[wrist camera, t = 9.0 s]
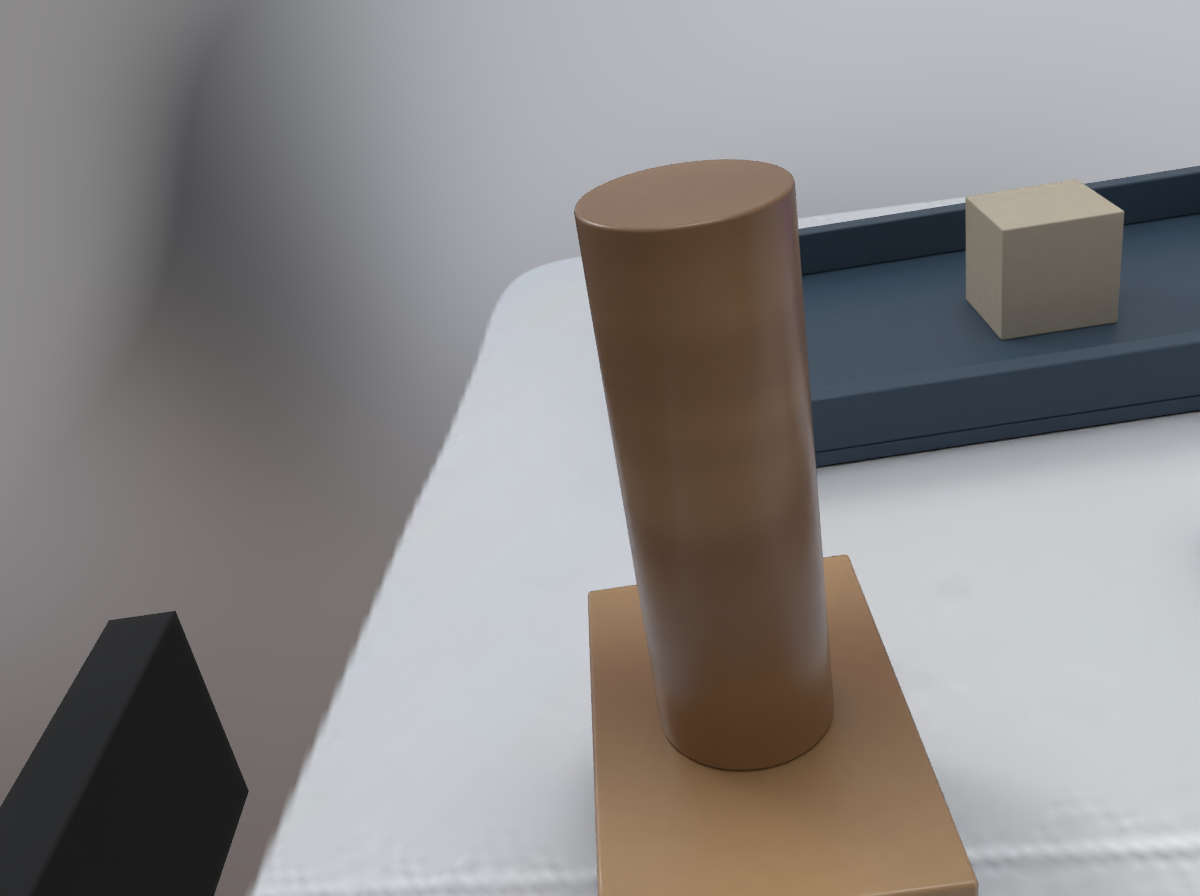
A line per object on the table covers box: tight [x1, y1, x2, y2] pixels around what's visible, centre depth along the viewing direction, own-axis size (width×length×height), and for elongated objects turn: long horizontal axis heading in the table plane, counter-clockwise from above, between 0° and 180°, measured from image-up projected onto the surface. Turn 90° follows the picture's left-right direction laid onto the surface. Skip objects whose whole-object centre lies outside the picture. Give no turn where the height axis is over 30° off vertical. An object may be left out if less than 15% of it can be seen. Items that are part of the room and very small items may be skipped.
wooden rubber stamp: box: [574, 159, 978, 896], centre depth 19 cm, size 8×5×14 cm, turn 1°
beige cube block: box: [966, 179, 1124, 340], centre depth 40 cm, size 4×4×4 cm
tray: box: [798, 166, 1200, 467], centre depth 41 cm, size 25×16×2 cm, turn 91°
